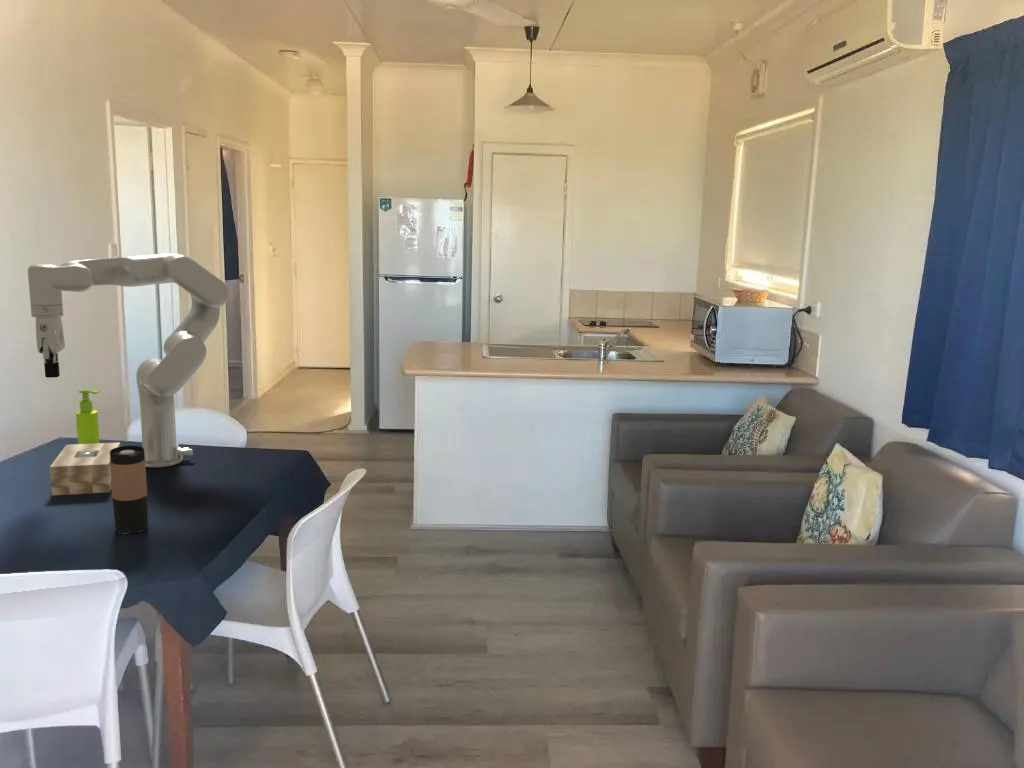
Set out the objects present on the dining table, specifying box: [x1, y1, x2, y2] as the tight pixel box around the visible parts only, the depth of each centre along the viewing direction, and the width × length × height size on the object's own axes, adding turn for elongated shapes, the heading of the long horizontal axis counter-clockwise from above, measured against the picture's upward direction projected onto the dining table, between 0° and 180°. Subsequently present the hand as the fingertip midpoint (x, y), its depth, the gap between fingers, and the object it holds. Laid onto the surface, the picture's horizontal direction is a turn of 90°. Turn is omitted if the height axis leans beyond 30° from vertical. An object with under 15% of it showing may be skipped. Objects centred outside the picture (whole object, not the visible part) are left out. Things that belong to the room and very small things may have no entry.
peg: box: [78, 451, 95, 457], centre depth 226 cm, size 4×4×7 cm
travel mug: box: [110, 445, 149, 534], centre depth 195 cm, size 8×8×20 cm
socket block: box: [49, 442, 121, 496], centre depth 226 cm, size 14×20×8 cm
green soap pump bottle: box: [75, 388, 101, 444], centre depth 249 cm, size 6×7×20 cm
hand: (52, 376), depth 223 cm, fingers closed
